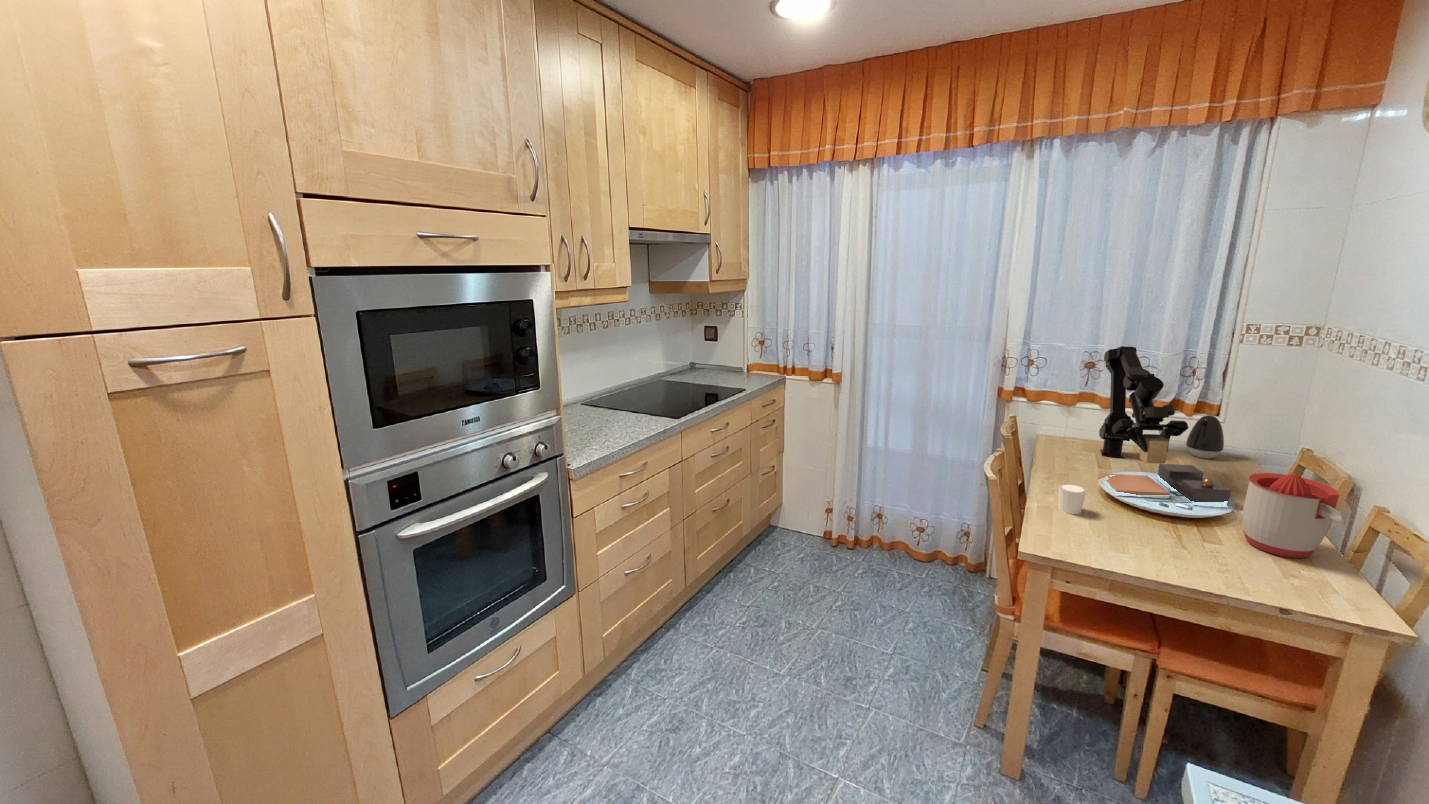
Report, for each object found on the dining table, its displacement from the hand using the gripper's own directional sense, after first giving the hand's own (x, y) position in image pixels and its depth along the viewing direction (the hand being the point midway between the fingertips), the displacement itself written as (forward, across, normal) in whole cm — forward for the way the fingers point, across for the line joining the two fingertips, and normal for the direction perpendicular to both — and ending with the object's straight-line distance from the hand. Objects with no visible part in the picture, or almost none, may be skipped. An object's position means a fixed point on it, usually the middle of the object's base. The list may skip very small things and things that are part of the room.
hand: (1156, 452), depth 172 cm
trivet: (+8, -4, +10) cm, 14 cm away
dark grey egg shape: (-16, +33, +35) cm, 50 cm away
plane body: (+9, +11, +9) cm, 17 cm away
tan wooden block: (+1, 0, +3) cm, 4 cm away
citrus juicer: (+33, +14, -15) cm, 39 cm away
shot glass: (+22, -28, -3) cm, 36 cm away
